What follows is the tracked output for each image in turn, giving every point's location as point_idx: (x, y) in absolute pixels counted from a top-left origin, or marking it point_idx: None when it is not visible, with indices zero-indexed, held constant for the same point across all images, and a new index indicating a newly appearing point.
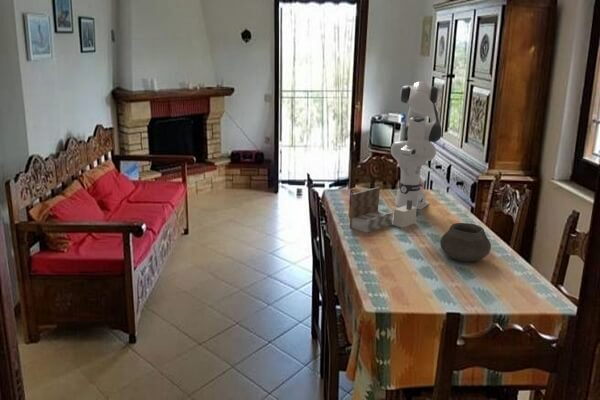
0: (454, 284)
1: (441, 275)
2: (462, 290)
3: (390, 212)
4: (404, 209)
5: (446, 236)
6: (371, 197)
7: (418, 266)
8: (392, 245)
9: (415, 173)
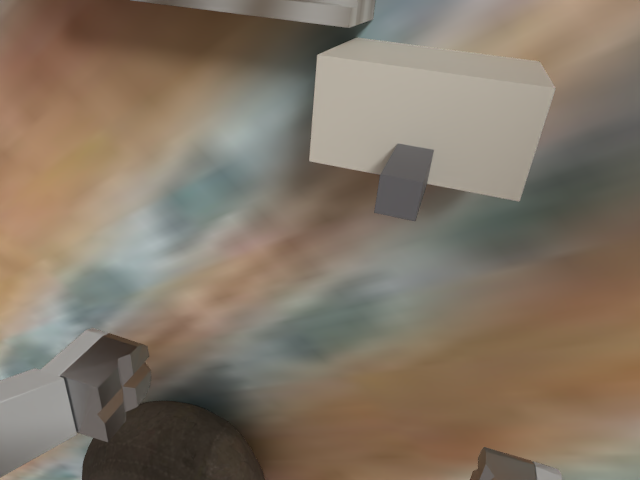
0: None
1: None
2: None
3: (324, 9)
4: (371, 136)
5: (93, 463)
6: None
7: (34, 337)
8: (85, 197)
9: (482, 459)
